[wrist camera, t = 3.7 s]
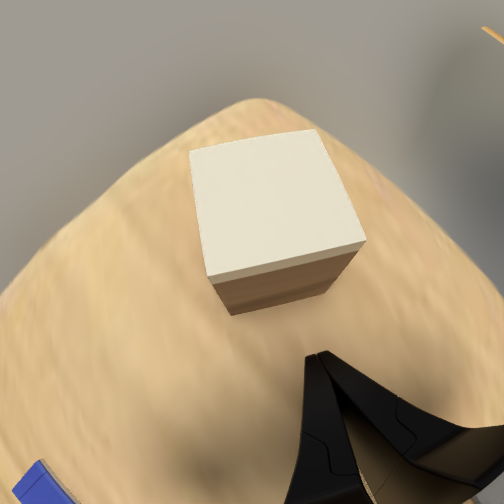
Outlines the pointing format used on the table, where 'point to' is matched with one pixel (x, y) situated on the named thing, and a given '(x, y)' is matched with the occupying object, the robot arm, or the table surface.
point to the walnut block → (272, 219)
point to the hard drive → (42, 487)
